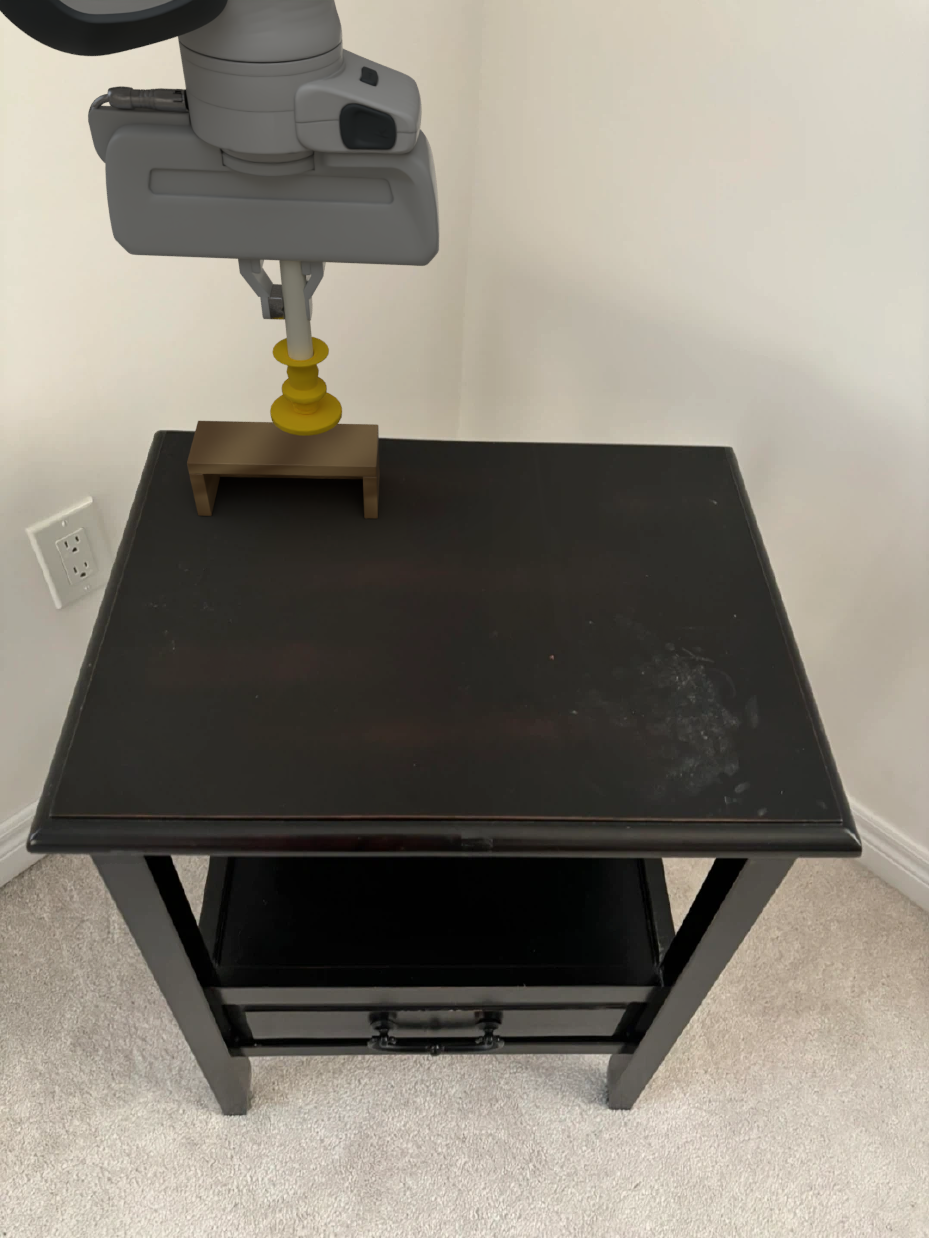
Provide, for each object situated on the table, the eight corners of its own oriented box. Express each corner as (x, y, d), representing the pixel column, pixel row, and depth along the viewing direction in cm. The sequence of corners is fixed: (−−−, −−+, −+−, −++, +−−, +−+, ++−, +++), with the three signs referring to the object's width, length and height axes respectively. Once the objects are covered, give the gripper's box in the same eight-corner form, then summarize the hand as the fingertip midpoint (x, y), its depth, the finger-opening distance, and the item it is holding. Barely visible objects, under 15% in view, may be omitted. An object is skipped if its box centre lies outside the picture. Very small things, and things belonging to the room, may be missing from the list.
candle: (271, 438, 66) (244, 224, 55) (269, 396, 70) (243, 186, 58) (344, 434, 67) (333, 222, 56) (339, 392, 71) (327, 184, 59)
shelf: (198, 516, 83) (186, 462, 79) (208, 473, 87) (197, 420, 83) (377, 518, 84) (376, 466, 80) (379, 476, 88) (378, 424, 84)
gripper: (64, 106, 50) (121, 335, 60) (444, 123, 51) (436, 346, 61) (93, 65, 54) (142, 286, 65) (443, 82, 55) (436, 297, 66)
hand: (288, 315), depth 63 cm, fingers closed on candle
